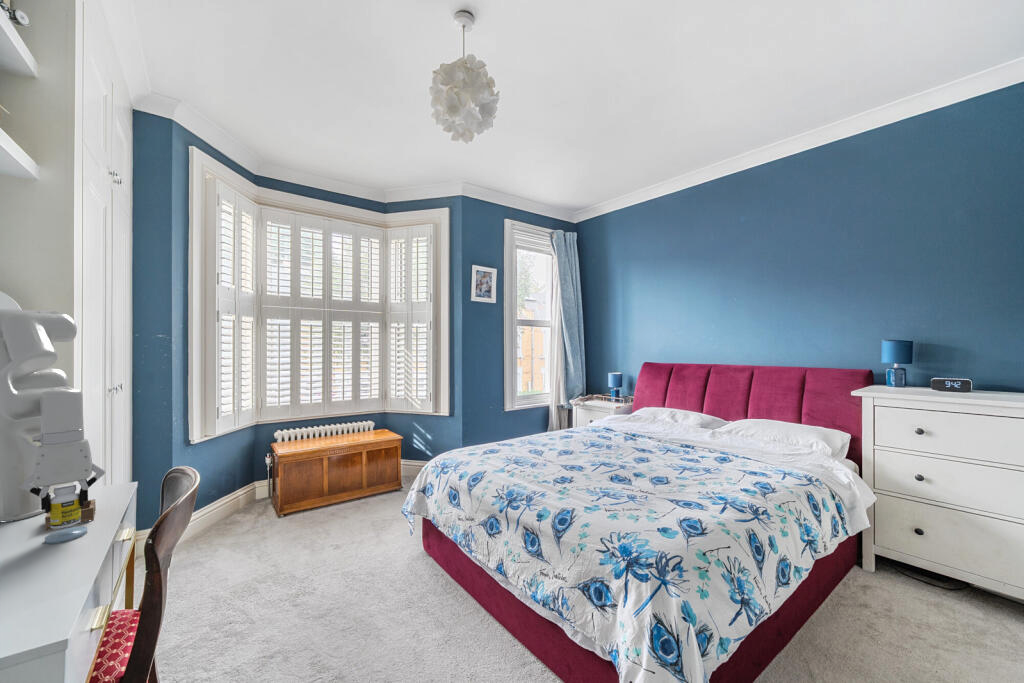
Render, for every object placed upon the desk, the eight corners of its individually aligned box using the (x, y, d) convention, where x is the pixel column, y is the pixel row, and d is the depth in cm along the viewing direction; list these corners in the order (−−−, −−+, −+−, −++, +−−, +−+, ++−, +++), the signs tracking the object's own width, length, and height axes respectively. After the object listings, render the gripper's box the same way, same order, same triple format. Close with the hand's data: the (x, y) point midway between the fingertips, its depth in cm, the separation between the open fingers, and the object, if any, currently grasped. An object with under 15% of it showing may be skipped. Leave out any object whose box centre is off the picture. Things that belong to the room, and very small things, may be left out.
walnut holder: (50, 520, 120) (50, 507, 120) (95, 510, 126) (95, 499, 126) (45, 530, 113) (45, 517, 113) (93, 520, 119) (93, 507, 119)
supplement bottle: (61, 530, 106) (59, 491, 106) (44, 528, 107) (43, 490, 107) (86, 520, 111) (85, 483, 111) (71, 519, 112) (69, 482, 112)
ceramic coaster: (35, 545, 104) (35, 541, 104) (61, 532, 112) (61, 528, 112) (72, 541, 106) (72, 537, 106) (94, 528, 113) (94, 525, 113)
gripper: (8, 446, 100) (11, 523, 100) (108, 434, 112) (111, 502, 112) (15, 441, 106) (17, 513, 106) (109, 429, 117) (112, 495, 117)
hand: (65, 507), depth 109 cm, fingers closed on supplement bottle, 5 cm apart
